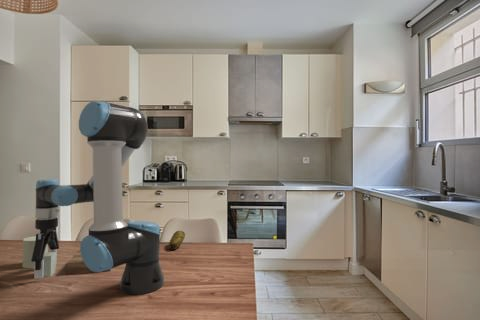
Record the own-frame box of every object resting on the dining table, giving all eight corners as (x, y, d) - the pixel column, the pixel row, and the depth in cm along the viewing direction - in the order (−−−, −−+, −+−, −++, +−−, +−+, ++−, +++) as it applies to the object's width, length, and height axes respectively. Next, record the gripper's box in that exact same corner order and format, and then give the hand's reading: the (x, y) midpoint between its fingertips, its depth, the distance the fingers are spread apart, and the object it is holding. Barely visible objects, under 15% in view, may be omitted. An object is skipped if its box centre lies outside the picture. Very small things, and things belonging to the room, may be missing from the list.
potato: (162, 249, 148) (162, 233, 148) (177, 243, 160) (177, 229, 160) (174, 251, 144) (174, 235, 145) (189, 245, 156) (190, 230, 156)
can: (34, 269, 119) (35, 240, 119) (16, 267, 121) (17, 239, 121) (53, 261, 128) (53, 235, 128) (36, 260, 130) (36, 233, 130)
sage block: (50, 276, 112) (51, 255, 112) (36, 277, 110) (36, 256, 111) (55, 271, 117) (55, 252, 117) (41, 272, 115) (41, 253, 115)
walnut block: (110, 271, 118) (110, 259, 118) (66, 275, 114) (66, 263, 114) (116, 259, 133) (116, 248, 133) (78, 262, 129) (78, 251, 129)
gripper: (45, 223, 103) (44, 282, 102) (67, 212, 127) (66, 260, 127) (20, 224, 101) (19, 285, 101) (48, 213, 125) (47, 261, 125)
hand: (46, 271), depth 114 cm, fingers open, 13 cm apart
